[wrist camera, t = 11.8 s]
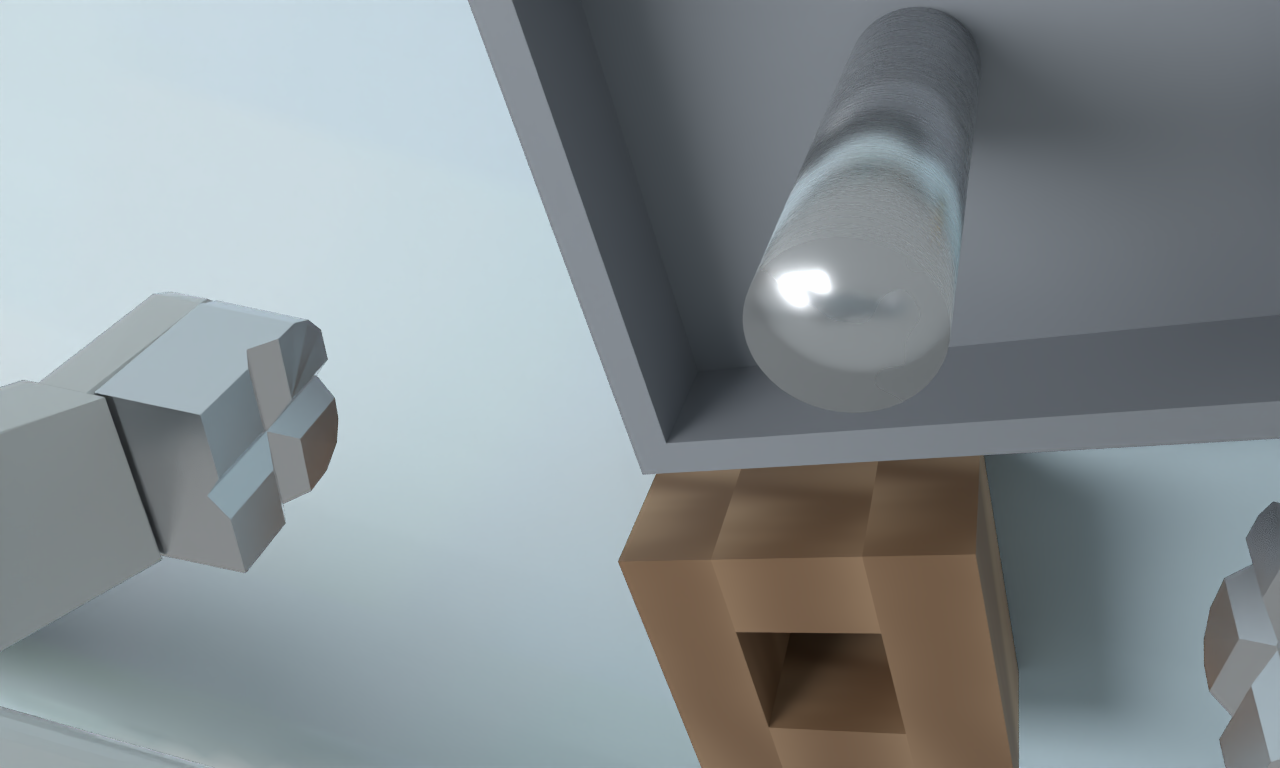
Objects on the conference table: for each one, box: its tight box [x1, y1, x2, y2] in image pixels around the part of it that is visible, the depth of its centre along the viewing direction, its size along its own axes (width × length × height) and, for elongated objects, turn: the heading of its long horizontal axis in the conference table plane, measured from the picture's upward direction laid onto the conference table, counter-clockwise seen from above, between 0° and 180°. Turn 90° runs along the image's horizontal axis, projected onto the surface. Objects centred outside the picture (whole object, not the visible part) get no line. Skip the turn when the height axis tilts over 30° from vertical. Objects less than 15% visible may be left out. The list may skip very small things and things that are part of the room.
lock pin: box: [743, 7, 981, 413], centre depth 15 cm, size 2×2×9 cm
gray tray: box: [468, 0, 1280, 474], centre depth 18 cm, size 14×14×4 cm
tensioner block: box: [618, 455, 1019, 768], centre depth 26 cm, size 8×8×4 cm
